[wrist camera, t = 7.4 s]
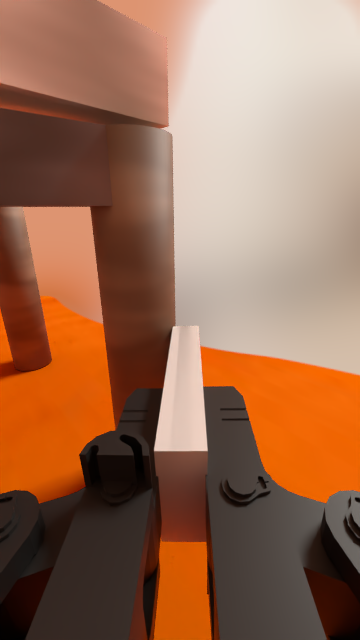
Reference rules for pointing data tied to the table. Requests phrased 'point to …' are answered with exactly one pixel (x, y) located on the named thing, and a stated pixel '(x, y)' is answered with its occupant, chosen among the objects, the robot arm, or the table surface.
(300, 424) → the table surface
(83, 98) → the stool
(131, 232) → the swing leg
